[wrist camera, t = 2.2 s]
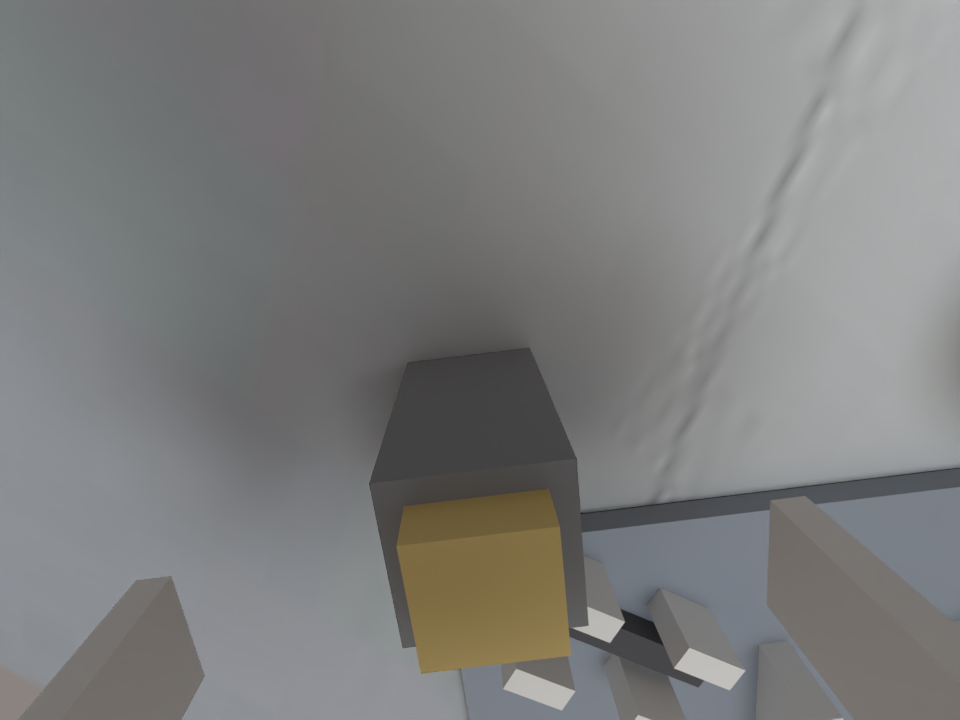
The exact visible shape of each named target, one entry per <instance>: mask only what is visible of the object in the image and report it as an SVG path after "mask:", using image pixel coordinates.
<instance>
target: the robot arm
mask: <svg viewBox="0 0 960 720" xmlns="http://www.w3.org/2000/svg"><path fill="white" fill-rule="evenodd" d="M766 605H767V606H768V607H769V609H770V610H771V611H772V613H773V614H774V615H775V616H776V618H777V619H778V620H779V622H780V623H781V624H782V626H783V627H784V628H785V630H786V631H787V632H788V634H789V635H790V636H791V637H792V639H793V640H794V641H795V643H796V644H797V645H798V647H799V648H800V649H801V651H802V652H803V653H804V655H805V656H806V657H807V658H808V660H809V661H810V662H811V664H812V665H813V666H814V668H815V669H816V670H817V672H818V673H819V674H820V676H821V677H822V678H823V680H824V681H825V682H826V683H827V685H828V686H829V687H830V689H831V690H832V691H833V693H834V694H835V695H836V697H837V698H838V699H839V701H840V702H841V703H842V704H843V706H844V707H845V708H846V710H847V711H848V712H849V714H850V715H851V716H852V718H853V719H854V720H960V627H958V626H957V625H956V624H955V623H954V622H953V621H951V620H950V619H949V618H948V617H947V616H946V615H944V614H943V613H942V612H941V611H940V610H939V609H937V608H936V607H935V606H934V605H933V604H932V603H930V602H929V601H928V600H927V599H926V598H924V597H923V596H922V595H921V594H920V593H919V592H917V591H916V590H915V589H914V588H913V587H912V586H910V585H909V584H908V583H907V582H906V581H905V580H903V579H902V578H901V577H900V576H899V575H897V574H896V573H895V572H894V571H893V570H892V569H890V568H889V567H888V566H887V565H886V564H885V563H883V562H882V561H881V560H880V559H879V558H878V557H876V556H875V555H874V554H873V553H872V552H871V551H869V550H868V549H867V548H866V547H865V546H863V545H862V544H861V543H860V542H859V541H858V540H856V539H855V538H854V537H853V536H852V535H851V534H849V533H848V532H847V531H846V530H845V529H844V528H842V527H841V526H840V525H839V524H838V523H836V522H835V521H834V520H833V519H832V518H831V517H829V516H828V515H827V514H826V513H825V512H824V511H822V510H821V509H820V508H819V507H818V506H817V505H815V504H814V503H813V502H812V501H811V500H810V499H808V498H807V497H806V496H801V497H793V498H785V499H777V500H770V524H769V550H768V576H767V602H766ZM204 676H205V675H204V672H203V669H202V666H201V663H200V660H199V657H198V654H197V651H196V648H195V645H194V643H193V640H192V637H191V634H190V631H189V628H188V625H187V622H186V619H185V616H184V613H183V610H182V607H181V604H180V601H179V598H178V595H177V592H176V589H175V586H174V583H173V580H172V577H171V576H168V577H160V578H152V579H144V580H136V581H135V582H134V584H133V585H132V586H131V587H130V588H129V590H128V591H127V592H126V593H125V594H124V595H123V597H122V598H121V599H120V600H119V601H118V603H117V604H116V605H115V606H114V607H113V608H112V610H111V611H110V612H109V613H108V614H107V615H106V617H105V618H104V619H103V620H102V621H101V623H100V624H99V625H98V626H97V627H96V628H95V630H94V631H93V632H92V633H91V634H90V636H89V637H88V638H87V639H86V640H85V641H84V643H83V644H82V645H81V646H80V647H79V648H78V650H77V651H76V652H75V653H74V654H73V656H72V657H71V658H70V659H69V660H68V661H67V663H66V664H65V665H64V666H63V667H62V669H61V670H60V671H59V672H58V673H57V674H56V676H55V677H54V678H53V679H52V680H51V681H50V683H49V684H48V685H47V686H46V687H45V689H44V690H43V691H42V692H41V693H40V695H39V696H38V697H37V698H36V699H35V700H34V702H33V703H32V704H31V705H30V706H29V707H28V709H27V710H26V711H25V712H24V714H23V715H22V716H21V717H20V718H19V719H18V720H181V719H182V717H183V715H184V714H185V712H186V710H187V708H188V706H189V704H190V702H191V701H192V699H193V697H194V695H195V693H196V691H197V689H198V687H199V686H200V684H201V682H202V680H203V678H204Z"/></svg>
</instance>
